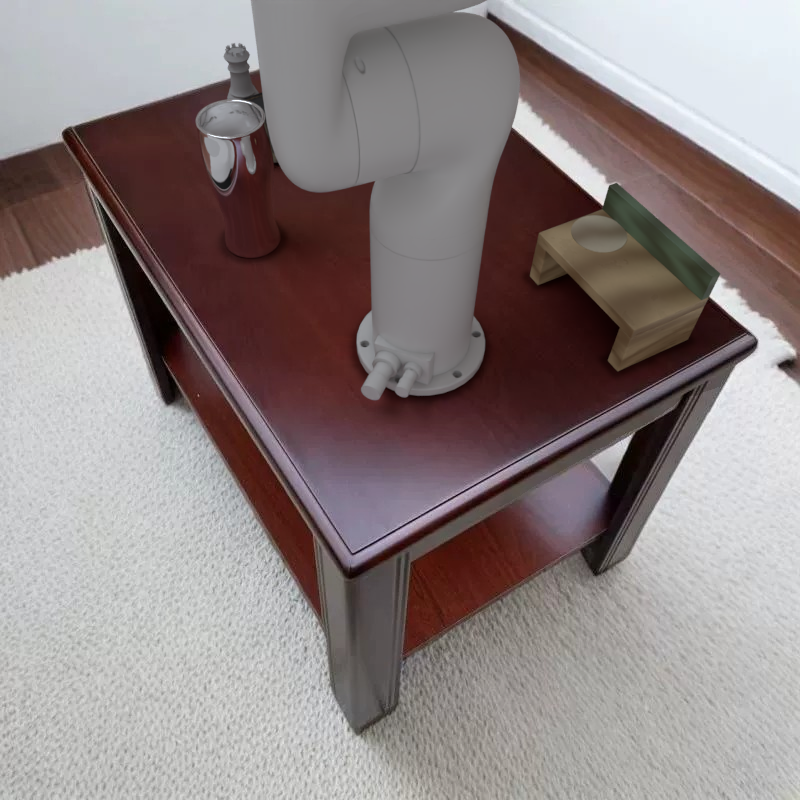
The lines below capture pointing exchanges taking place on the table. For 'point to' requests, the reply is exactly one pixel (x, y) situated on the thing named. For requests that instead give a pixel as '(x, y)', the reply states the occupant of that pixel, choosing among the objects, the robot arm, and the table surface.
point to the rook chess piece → (239, 72)
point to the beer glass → (240, 173)
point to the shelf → (630, 274)
